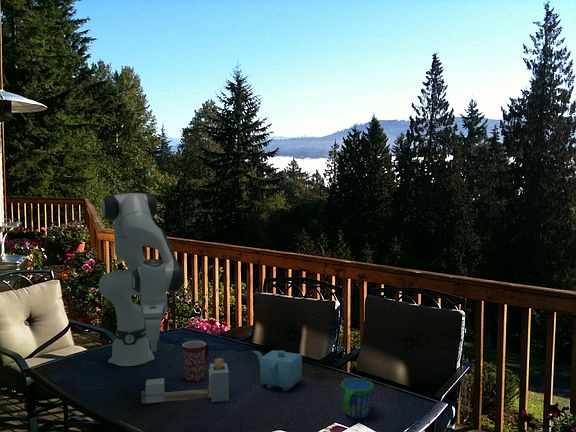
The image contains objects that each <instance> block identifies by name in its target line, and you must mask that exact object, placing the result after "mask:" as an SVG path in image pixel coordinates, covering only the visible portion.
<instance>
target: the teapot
mask: <svg viewBox="0 0 576 432" xmlns="http://www.w3.org/2000/svg"><path fill="white" fill-rule="evenodd" d="M252 352H253V354H255V355H256V357H257V359H258V363H259V383H260V384H262V385H266V387H265V388H267V389H273V388H274V387H279V388H281V391H283V392H288V391H289V390H290V389H292V388H293V387H294V386H295V385H297V384H298V383H299V382H300V381H301V380H302V379H303V373H302V372H303V355H302V354H301V353H294V352H286V350H271V351H269V352H268V353H266V354H264V355H262V353H261V352H260V351H257V350H253V351H252Z"/></svg>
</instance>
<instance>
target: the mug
mask: <svg viewBox="0 0 576 432" xmlns="http://www.w3.org/2000/svg"><path fill="white" fill-rule="evenodd" d="M181 346H182V355H183V368H184V379H185V381H187V382H192V383H194V382H199V381H202V380H203V379H204V378H205V365H206V362H207V359H208V357H209V351H210V350H209V349H210V348H209V345H208V344H207V343H206V342H205V341H203V340H190V341H185V342H184V343H182V345H181Z"/></svg>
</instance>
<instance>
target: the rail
mask: <svg viewBox="0 0 576 432" xmlns="http://www.w3.org/2000/svg"><path fill="white" fill-rule="evenodd" d="M199 399H200V400H202V399H203V400H204V399H211V397H210V388H209V386H207V389H195V390H181V391H169V392H168V391H167V392H165V391H164V402H174V401H175V402H176V401H178V402H179V401H189V400H190V401H191V400H199ZM164 402H163V403H164ZM141 404H147V403H146V390H144V391H143V390H142V391H141Z"/></svg>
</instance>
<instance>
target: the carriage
mask: <svg viewBox="0 0 576 432" xmlns="http://www.w3.org/2000/svg"><path fill="white" fill-rule="evenodd" d="M164 393H165V378H163V377H161V378H153V379H151V378H150V379H149V378H148V379H146V381H145V394H146V403H145V404H154V403H164Z"/></svg>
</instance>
